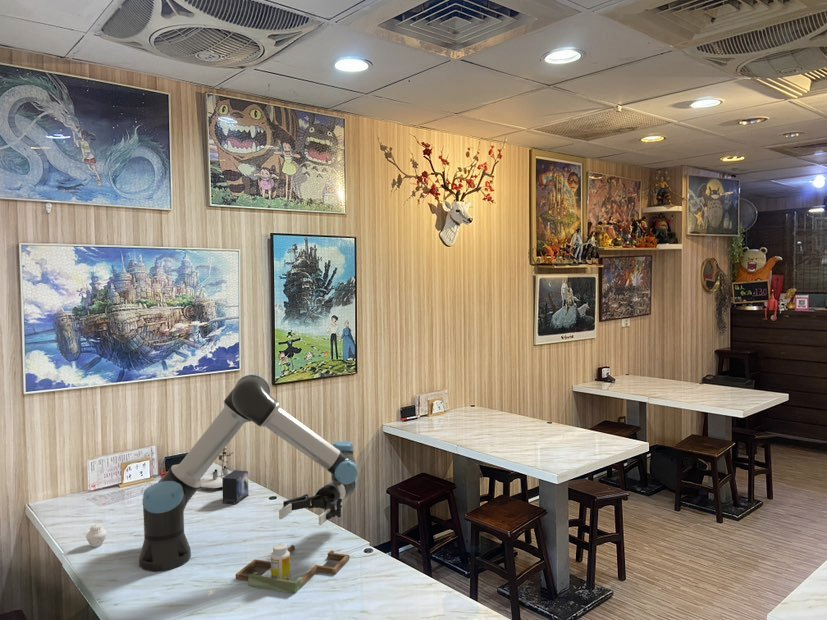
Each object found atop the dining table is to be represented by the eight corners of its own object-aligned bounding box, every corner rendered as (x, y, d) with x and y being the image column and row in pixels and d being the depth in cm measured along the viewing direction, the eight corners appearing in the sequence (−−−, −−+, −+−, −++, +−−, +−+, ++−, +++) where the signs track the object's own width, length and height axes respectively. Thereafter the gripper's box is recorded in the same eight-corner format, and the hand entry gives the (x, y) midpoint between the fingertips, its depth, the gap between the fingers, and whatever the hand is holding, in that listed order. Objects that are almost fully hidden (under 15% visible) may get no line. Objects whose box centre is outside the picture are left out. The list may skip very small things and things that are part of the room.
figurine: (218, 492, 253) (219, 452, 254) (188, 486, 262) (189, 447, 263) (253, 483, 270) (254, 445, 271) (224, 477, 279) (225, 441, 280)
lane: (275, 547, 201) (275, 538, 201) (351, 557, 192) (351, 548, 192) (230, 583, 177) (230, 573, 177) (314, 596, 169) (314, 586, 169)
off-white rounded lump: (84, 550, 201) (83, 529, 201) (88, 542, 207) (88, 522, 207) (105, 547, 203) (104, 527, 202) (108, 540, 209) (108, 520, 208)
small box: (237, 504, 241) (236, 478, 240) (221, 503, 242) (221, 477, 241) (249, 495, 251) (248, 470, 251) (234, 494, 252) (234, 469, 252)
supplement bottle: (291, 575, 181) (290, 541, 181) (289, 584, 176) (288, 549, 175) (272, 576, 181) (271, 542, 180) (270, 586, 175) (269, 551, 175)
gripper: (364, 510, 203) (336, 535, 183) (297, 502, 211) (264, 524, 191) (364, 488, 203) (336, 510, 183) (297, 480, 211) (264, 500, 191)
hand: (299, 517), depth 187 cm, fingers open, 13 cm apart
